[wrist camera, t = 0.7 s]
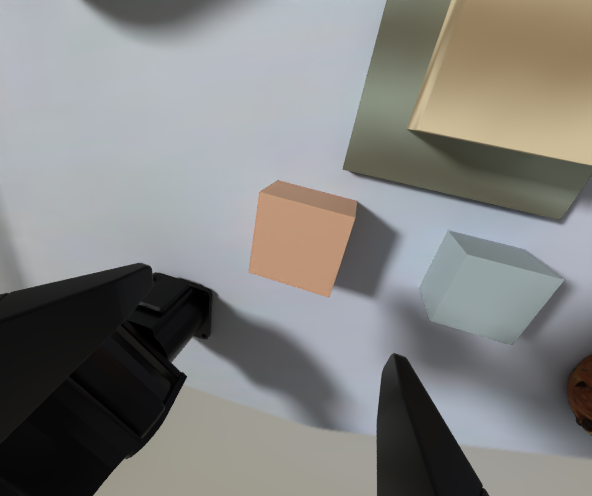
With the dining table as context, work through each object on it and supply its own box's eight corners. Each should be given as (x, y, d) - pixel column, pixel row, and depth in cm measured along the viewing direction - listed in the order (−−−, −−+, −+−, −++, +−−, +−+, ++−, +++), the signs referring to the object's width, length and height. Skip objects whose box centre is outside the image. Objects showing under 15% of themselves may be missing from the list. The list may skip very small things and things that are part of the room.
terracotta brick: (335, 269, 21) (329, 297, 18) (267, 249, 22) (248, 272, 19) (357, 200, 19) (355, 217, 15) (278, 179, 19) (259, 191, 16)
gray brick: (485, 306, 20) (511, 345, 16) (418, 287, 20) (429, 321, 17) (524, 248, 17) (564, 279, 14) (447, 229, 18) (467, 254, 14)
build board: (549, 214, 16) (618, 248, 12) (343, 167, 18) (336, 180, 13) (759, -97, 10) (1066, -268, 6) (419, -124, 12) (452, -273, 7)
